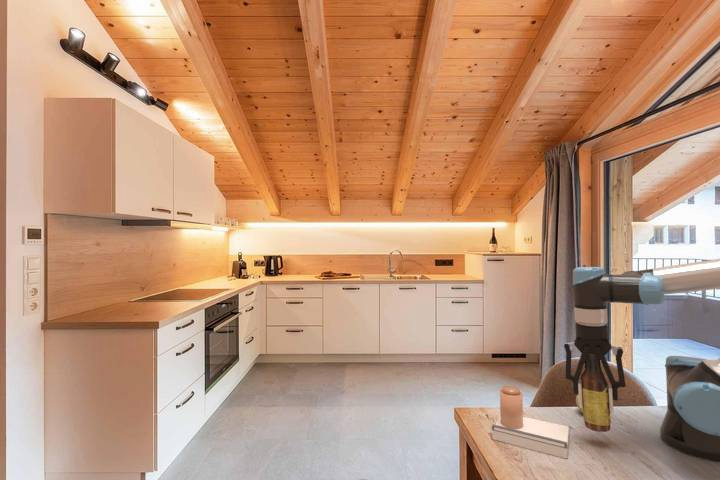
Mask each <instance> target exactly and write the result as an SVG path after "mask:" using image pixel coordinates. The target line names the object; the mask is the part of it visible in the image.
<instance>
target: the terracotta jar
mask: <svg viewBox="0 0 720 480" xmlns="http://www.w3.org/2000/svg"><path fill="white" fill-rule="evenodd" d="M523 401H524V400H523V393H522V391H521V390H520V388H519V387H517V386H514V385H504V386H502V388H500V390H499V408H500V409H499V410H500V414H499V416H500V417H501V424H502V425H503V426H505V427H507V428H511V429H521V428H523V417H524V404H523Z"/></svg>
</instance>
